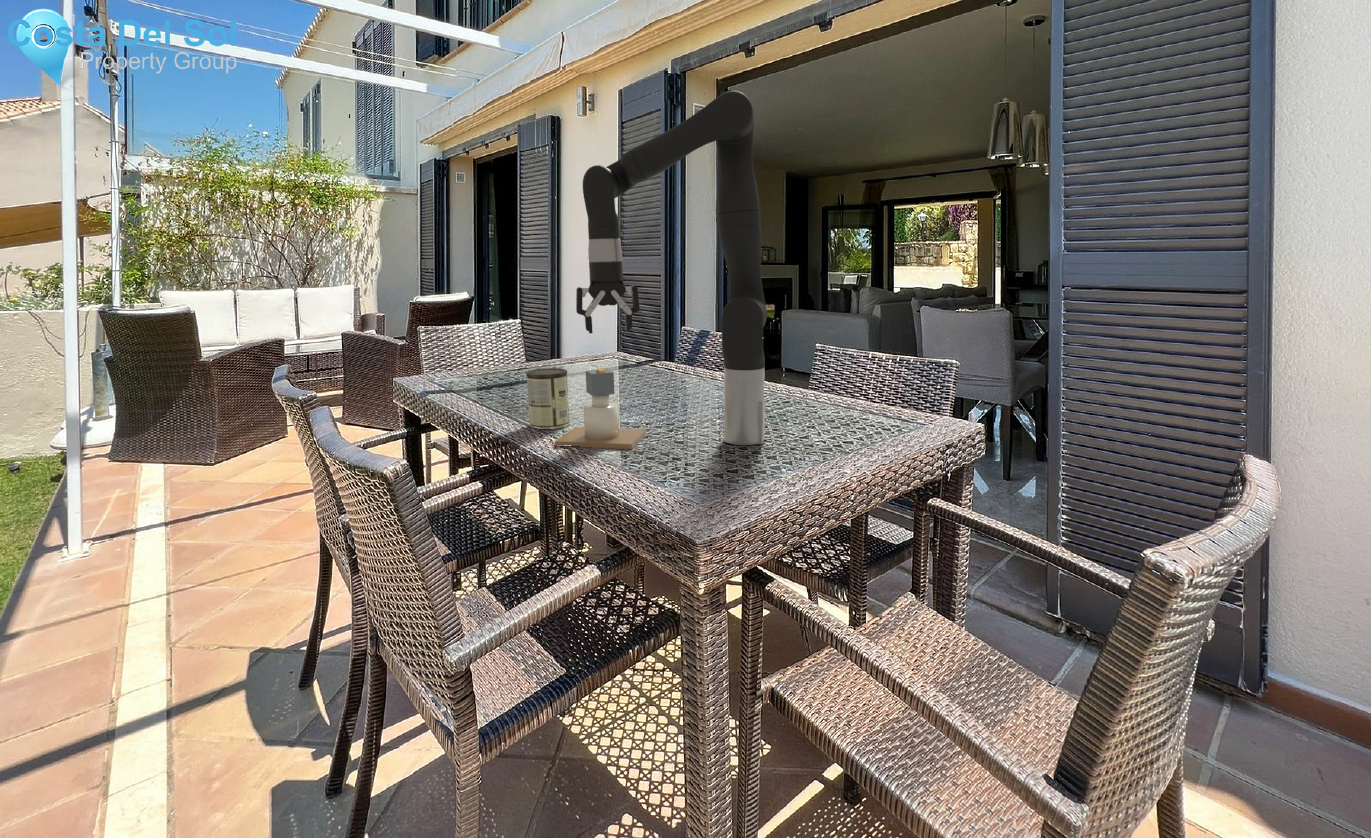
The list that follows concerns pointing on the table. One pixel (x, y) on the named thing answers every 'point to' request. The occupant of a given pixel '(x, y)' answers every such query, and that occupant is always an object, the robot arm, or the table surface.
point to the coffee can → (548, 398)
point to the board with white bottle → (601, 428)
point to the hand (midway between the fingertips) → (609, 332)
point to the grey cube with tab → (599, 382)
